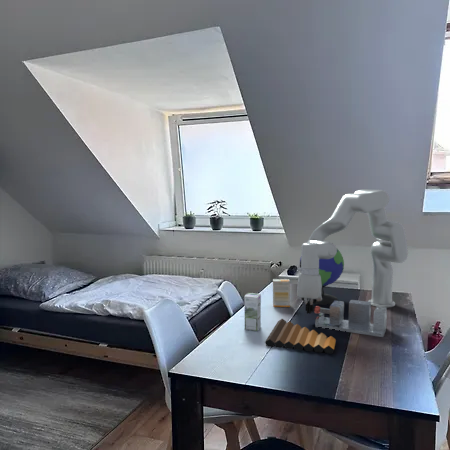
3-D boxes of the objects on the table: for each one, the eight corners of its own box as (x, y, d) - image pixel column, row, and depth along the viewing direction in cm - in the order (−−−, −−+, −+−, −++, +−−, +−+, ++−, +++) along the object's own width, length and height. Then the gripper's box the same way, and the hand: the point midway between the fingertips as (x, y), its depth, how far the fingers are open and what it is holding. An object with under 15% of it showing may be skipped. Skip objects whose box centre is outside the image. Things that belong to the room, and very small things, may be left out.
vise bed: (321, 319, 188) (322, 299, 187) (386, 328, 176) (387, 306, 175) (315, 327, 178) (315, 305, 177) (383, 337, 166) (384, 314, 165)
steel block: (350, 322, 180) (351, 299, 179) (370, 325, 176) (371, 302, 175) (348, 326, 175) (348, 302, 174) (368, 329, 172) (369, 305, 171)
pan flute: (278, 325, 182) (265, 347, 158) (278, 318, 181) (265, 338, 158) (338, 331, 174) (333, 355, 150) (338, 323, 174) (333, 346, 150)
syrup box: (261, 326, 179) (261, 293, 177) (257, 331, 173) (257, 296, 172) (248, 325, 181) (248, 292, 179) (244, 330, 175) (244, 295, 173)
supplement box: (289, 304, 211) (289, 278, 209) (289, 307, 206) (290, 281, 205) (272, 304, 212) (272, 278, 210) (272, 307, 207) (272, 280, 206)
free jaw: (316, 315, 188) (316, 298, 187) (343, 318, 182) (344, 301, 182) (310, 321, 180) (311, 303, 179) (339, 325, 174) (339, 307, 174)
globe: (338, 308, 204) (340, 246, 201) (294, 302, 214) (294, 244, 211) (346, 296, 224) (347, 240, 221) (305, 292, 234) (306, 238, 231)
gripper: (290, 271, 183) (290, 312, 185) (325, 274, 176) (324, 317, 178) (295, 268, 189) (295, 308, 191) (329, 271, 183) (328, 312, 184)
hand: (309, 312), depth 184 cm, fingers closed
